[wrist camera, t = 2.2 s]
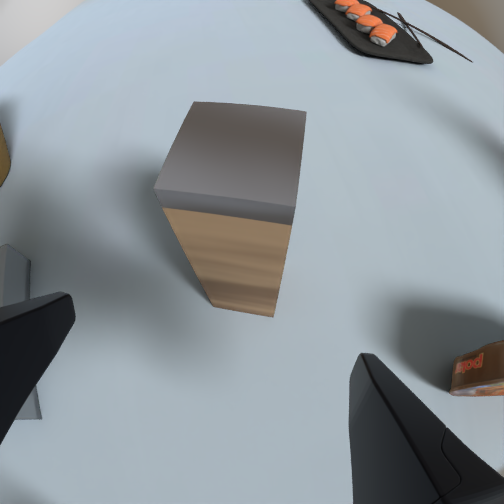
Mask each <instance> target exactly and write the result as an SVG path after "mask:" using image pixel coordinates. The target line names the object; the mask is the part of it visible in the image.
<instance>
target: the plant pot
mask: <svg viewBox="0 0 504 504" xmlns="http://www.w3.org/2000/svg"><path fill="white" fill-rule="evenodd" d="M10 163H11V161H10V157H9V153H8V149H7V145H6V142H5V138H4V135H3V131H2V128H1V124H0V186H1V185H2V183H3V181H4V180H5V178H6V176H7V174H8V172H9V169H10Z"/></svg>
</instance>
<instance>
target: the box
mask: <svg viewBox="0 0 504 504" xmlns="http://www.w3.org/2000/svg"><path fill="white" fill-rule="evenodd" d="M29 285H30V260H28V259H27V258H26V257H24V256H23V255H22V254H20V253H19V252H18V251H16V250H15V249H14V248H12V247H11V246H10V245H8V244H5V245H3V246H1V247H0V307H3V306H7V305H10V304H14V303H18V302H22V301H26V300H29ZM31 419H42V417H41V412H40V406H39V401H38V395H37V389H36V386H35V387H34V389H33V390H32V392H31V394H30V395H29V397H28V398H27V400H26V402H25V403H24V405H23V406H22V408H21V410H20V411H19V413H18V415H17V416H16V418H15V420H31Z"/></svg>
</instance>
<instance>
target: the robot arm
mask: <svg viewBox="0 0 504 504" xmlns="http://www.w3.org/2000/svg"><path fill="white" fill-rule="evenodd" d="M75 317H76V316H75V310H74V305H73V300H72V297H71V295H70V294H67V293H64V292H56V293H53V294H49V295H45V296H41V297H37V298H33V299H30V300H26V301H22V302H18V303H14V304H10V305H7V306H3V307H0V445H1V443H2V441H3V439H4V437H5V436H6V434H7V432H8V430H9V429H10V427H11V425H12V423H13V422H14V420H15V418H16V416H17V415H18V413H19V411H20V410H21V408H22V406H23V405H24V403H25V402H26V400H27V398H28V397H29V395H30V394H31V392H32V390H33V389H34V387H35V386H36V384H37V383H38V381H39V380H40V378H41V377H42V375H43V373H44V372H45V370H46V369H47V368H48V366H49V365H50V363H51V362H52V360H53V359H54V357H55V355H56V354H57V352H58V350H59V349H60V347H61V345H62V343H63V341H64V340H65V338H66V336H67V334H68V333H69V331H70V329H71V327H72V326H73V324H74V322H75ZM349 438H350V451H351V465H352V484H353V504H504V477H502V476H501V475H500V474H499V473H498V472H496V471H495V470H494V469H493V468H492V467H490V466H489V465H488V464H487V463H486V462H484V461H483V460H482V459H481V458H480V457H478V456H477V455H476V454H475V453H474V452H473V451H471V450H470V449H469V448H468V447H467V446H466V445H465V444H464V443H463V442H462V441H461V440H460V439H459V438H458V437H457V436H456V435H455V434H454V433H453V432H452V431H451V430H450V429H449V428H446V425H445V424H444V423H443V422H442V421H441V420H440V419H439V418H438V417H437V416H436V415H435V414H434V413H433V412H432V411H431V410H430V409H429V408H428V407H427V406H426V405H425V404H424V403H423V402H422V401H421V400H420V399H419V398H418V397H417V396H416V395H415V394H414V393H413V392H412V391H411V390H410V389H409V388H408V387H407V386H406V385H405V384H404V383H403V382H402V381H401V380H400V379H399V378H398V377H397V376H396V375H395V374H394V373H393V372H392V371H391V370H390V369H389V368H388V367H387V366H386V365H385V364H384V363H383V362H382V361H381V360H380V359H379V358H378V357H377V356H375V355H374V354H370V353H361V354H359V356H358V358H357V360H356V363H355V365H354V368H353V370H352V373H351V376H350V386H349Z"/></svg>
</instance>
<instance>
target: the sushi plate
mask: <svg viewBox="0 0 504 504" xmlns="http://www.w3.org/2000/svg"><path fill="white" fill-rule="evenodd" d="M309 1H310V2H311V3H312V4H313V5H314V6H315V7H316V8H317V9H318V10H319V11H320V12H321V13H322V14H323V15H324V16H325V17H326V18H327V19H328V20H329V21H330V22H331V24H332V25H333V26H334V27H335V28H336V29H337V30H338V31H339V32H340V33H341V34H342V36H343V37H344V38H345V39H346V40H347V41H348V42H349V43H350V44H351V45H352V46H353V47H355V48H356V49H358V50H359V51H361V52H363V53H366V54H370V55H375V56H380V57H386V58H393V59H399V60H406V61H412V62H418V63H425V64H431V63H433V59H432V57H431V56H430V54H429V53H428V52H427V51H426V50H425V49H424V48H423V46H422V44H421V43H420V41H419V40H418V39H417V37H416V36H415V34H414V33H413V31H412V30H411V28H410V27H409V26H411V27H413V28H415V29H416V30H418V31H420V32H422V33H424V34H425V35H427V36H429V37H430V38H432V39H434V40H435V41H437V42H439V43H440V44H442V45H443V46H445V47H446V48H448V49H450V50H451V51H453V52H455V53H457V54H458V55H460V56H462V57H464V58H465V59H467V60H469V59H468V58H466V57H465V56H464V55H462V54H461V53H459V52H458V51H456V50H454V49H453V48H451V47H450V46H448V45H446V44H445V43H443V42H442V41H440V40H438V39H436V38H435V37H433V36H431V35H429V34H428V33H426V32H424V31H422V30H420V29H419V28H417V27H415V26H413V25H411V24H409V23H407V22H406V21H405V20H404V18H403V17H402V16H401V14H400V13H398V12H397V13H398V15H399V17H400V19H399V18H397V17H395V16H393V15H391V14H389V13H386V12H384V11H382V10H380V9H377V8H376V7H375V6H373V5H372V4H370V3H368V2H366V1H363V0H309ZM384 13H385V14H387V15H389V16H391V17H393V18H395V19H397V20H399V21H401V22H403V23H404V24H405V25H406V26H407V28H408V29H409V30H410V32H411V33H412V35H413V36H414V37H415V39H416V40H417V41H415V40H414V39H413V38H412V37H411V36H410V35H409V34H408V33H407V32H405V31H404V30H403V29H402V28H401V27H400V26H399V25H397V24H396V23H395V22H394V21H393V20H391V19H390V18H389V17H388V16H386V15H385V14H384ZM408 25H409V26H408ZM469 61H470V62H472V61H471V60H469ZM472 63H473V62H472Z"/></svg>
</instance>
